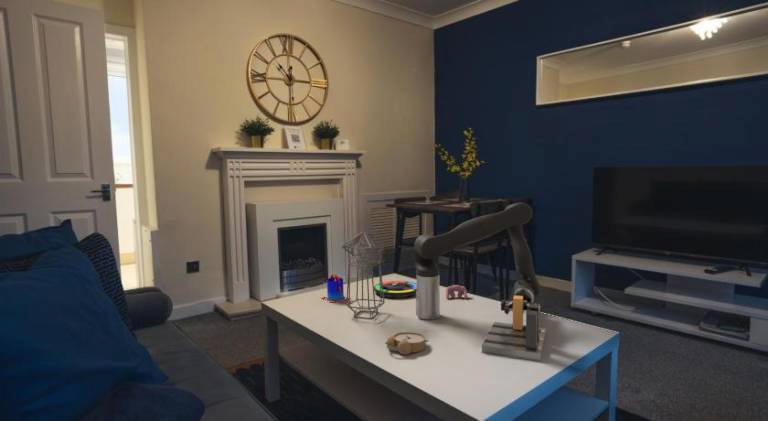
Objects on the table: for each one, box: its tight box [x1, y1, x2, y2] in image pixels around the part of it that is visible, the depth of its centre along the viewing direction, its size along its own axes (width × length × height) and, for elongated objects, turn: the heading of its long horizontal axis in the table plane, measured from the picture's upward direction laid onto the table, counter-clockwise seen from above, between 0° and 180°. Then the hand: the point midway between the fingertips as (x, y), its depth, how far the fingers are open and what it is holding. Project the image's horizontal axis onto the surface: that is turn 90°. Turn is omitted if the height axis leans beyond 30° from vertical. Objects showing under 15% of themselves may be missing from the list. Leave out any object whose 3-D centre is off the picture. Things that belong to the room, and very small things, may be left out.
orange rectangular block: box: [512, 294, 524, 330], centre depth 153 cm, size 3×4×11 cm
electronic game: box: [374, 280, 417, 299], centre depth 212 cm, size 23×23×5 cm
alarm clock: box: [385, 331, 429, 356], centre depth 145 cm, size 11×5×15 cm
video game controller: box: [445, 284, 468, 300], centre depth 201 cm, size 10×5×7 cm, turn 85°
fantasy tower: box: [320, 274, 352, 305], centre depth 203 cm, size 12×12×12 cm
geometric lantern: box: [340, 231, 388, 320], centre depth 179 cm, size 16×16×35 cm
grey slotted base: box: [481, 303, 547, 362], centre depth 146 cm, size 18×23×14 cm
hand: (517, 312), depth 151 cm, fingers open, 6 cm apart
